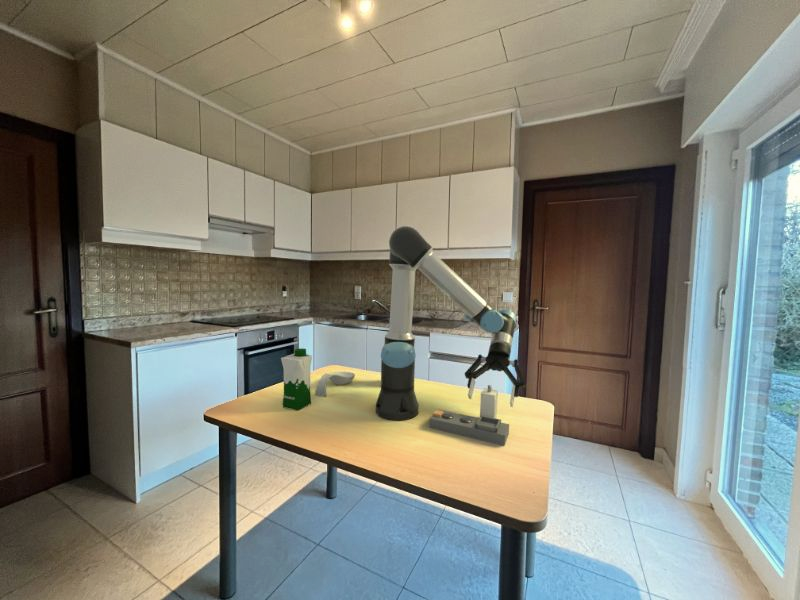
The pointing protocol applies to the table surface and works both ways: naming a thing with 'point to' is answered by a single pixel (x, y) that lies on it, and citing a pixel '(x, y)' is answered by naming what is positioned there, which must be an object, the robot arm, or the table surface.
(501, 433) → the power strip
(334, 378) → the grey ladle
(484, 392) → the white block with knob
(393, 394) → the robot arm
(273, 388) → the table surface
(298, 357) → the milk carton
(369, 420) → the table surface
